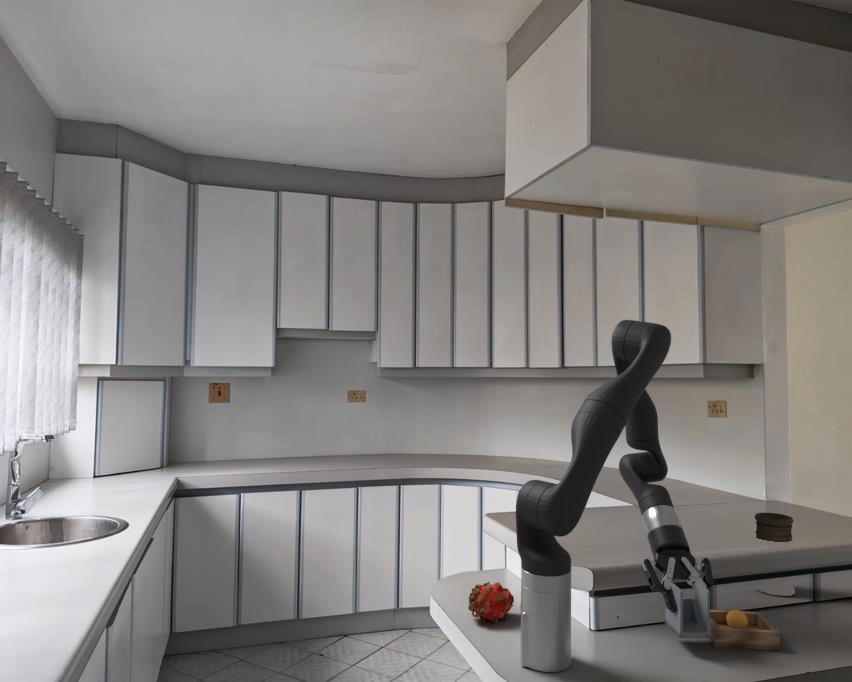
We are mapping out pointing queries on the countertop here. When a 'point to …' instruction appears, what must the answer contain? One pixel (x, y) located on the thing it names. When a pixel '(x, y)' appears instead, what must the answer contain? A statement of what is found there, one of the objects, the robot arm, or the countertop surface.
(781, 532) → the container
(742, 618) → the ball
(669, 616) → the holder
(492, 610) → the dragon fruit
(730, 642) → the tray
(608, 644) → the countertop surface
